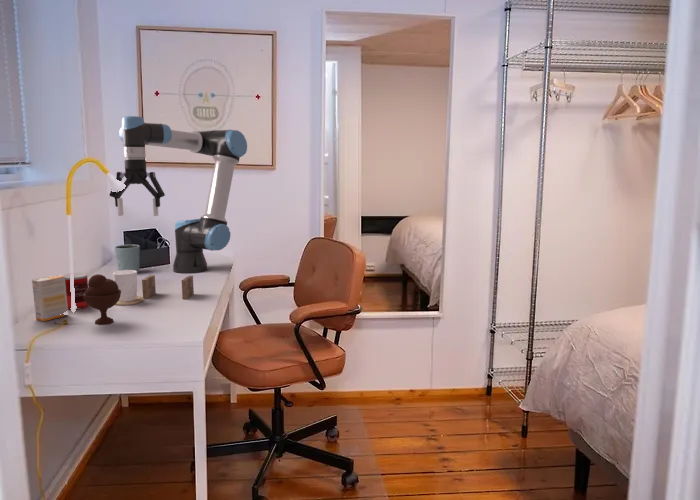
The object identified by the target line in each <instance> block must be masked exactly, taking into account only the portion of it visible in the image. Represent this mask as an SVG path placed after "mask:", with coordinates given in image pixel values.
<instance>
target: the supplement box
mask: <svg viewBox="0 0 700 500" xmlns="http://www.w3.org/2000/svg"><path fill="white" fill-rule="evenodd" d="M31 285H32V294H33V302H34V311H35V313H34V314H35V319H36V320H38V321H40V322H46V321H50V320H53V319H58V318H63V317H65V316H64V314H63V313H64V312H66V311H67V310H68V311H69V309H68V306H67V295H66V285H65V277H64V276H63V275H60V274H54V275H49V276H48V275H47V276H44V277H38V278H33V279H31ZM60 314H61V315H60Z"/></svg>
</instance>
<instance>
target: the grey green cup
mask: <svg viewBox="0 0 700 500" xmlns="http://www.w3.org/2000/svg"><path fill="white" fill-rule="evenodd" d="M140 247H141V246H140V245H139V244H121V245H117V246H114V251H115V257H116V263H117V269H118V270H117V271H121V270H135V271H137V274H139V273H140V250H141V248H140Z"/></svg>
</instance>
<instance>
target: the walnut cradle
mask: <svg viewBox="0 0 700 500" xmlns="http://www.w3.org/2000/svg"><path fill="white" fill-rule="evenodd" d="M141 285H142V286H141V287H142V288H141V289H142V297H143V298H144V300H146V299H147V300H148V299H149V298H151V297H152V296H154V295H155V294H156V293H157V291H156V288H157V287H156V275H155V274H150V275H149V276H147V277H145V278H142V279H141ZM194 289H195V288H194V275H188V276H186V277H184V278H182V280H181V296H182V298H181V299H182V300H188V299H189V298H190V297H192V296H193V295H195V294H194V293H195V291H194Z"/></svg>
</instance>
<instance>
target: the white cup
mask: <svg viewBox="0 0 700 500" xmlns="http://www.w3.org/2000/svg"><path fill="white" fill-rule="evenodd" d="M112 280H113V281H115V282H116V283H117V285H118V289H119V290H121V295H120V299H119V302H128V301H134V300H136V299H137V296H138V293H137V292H138V273H137V271H135V270H121V271H119V270H117V271H114V272H112Z"/></svg>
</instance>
